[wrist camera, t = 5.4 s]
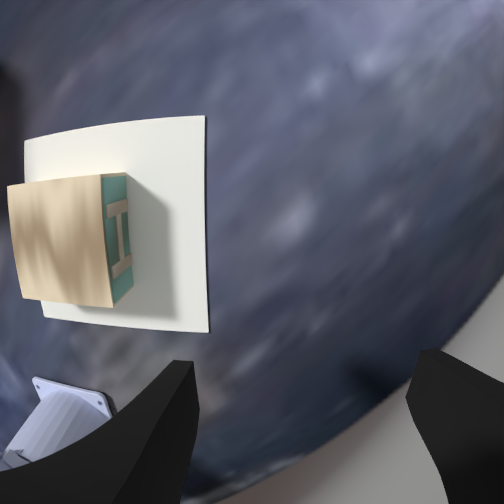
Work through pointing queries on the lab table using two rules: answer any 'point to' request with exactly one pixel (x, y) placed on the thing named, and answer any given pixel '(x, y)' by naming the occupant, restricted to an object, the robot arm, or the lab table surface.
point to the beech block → (72, 239)
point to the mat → (142, 215)
